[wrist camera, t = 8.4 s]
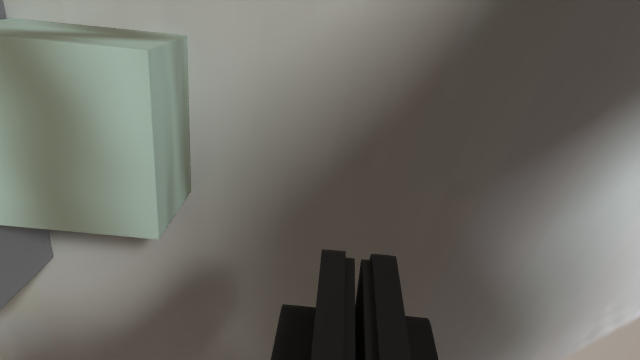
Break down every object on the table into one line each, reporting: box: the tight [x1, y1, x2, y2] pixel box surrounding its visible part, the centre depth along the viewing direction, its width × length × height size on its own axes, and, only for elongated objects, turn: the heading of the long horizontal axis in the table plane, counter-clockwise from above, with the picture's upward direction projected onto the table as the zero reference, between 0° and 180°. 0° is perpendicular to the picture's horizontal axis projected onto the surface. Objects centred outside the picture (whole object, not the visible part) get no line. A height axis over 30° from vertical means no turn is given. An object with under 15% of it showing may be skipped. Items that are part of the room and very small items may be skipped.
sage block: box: [0, 18, 191, 240], centre depth 18 cm, size 7×7×4 cm
